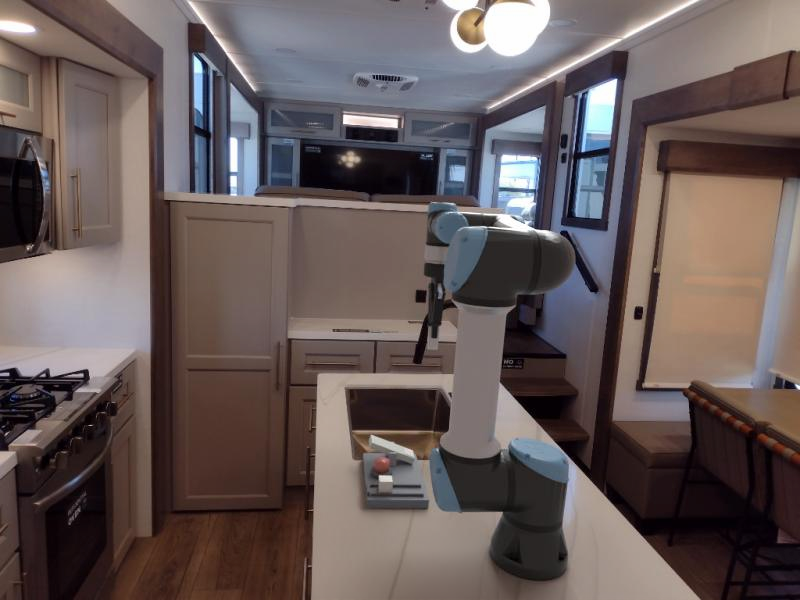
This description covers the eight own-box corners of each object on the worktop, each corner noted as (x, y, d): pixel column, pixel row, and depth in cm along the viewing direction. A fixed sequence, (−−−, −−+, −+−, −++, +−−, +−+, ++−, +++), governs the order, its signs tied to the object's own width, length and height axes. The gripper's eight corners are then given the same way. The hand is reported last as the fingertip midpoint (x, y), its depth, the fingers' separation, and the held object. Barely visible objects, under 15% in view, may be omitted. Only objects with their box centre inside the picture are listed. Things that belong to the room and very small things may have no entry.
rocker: (412, 464, 148) (415, 458, 148) (369, 448, 146) (372, 442, 146) (410, 455, 153) (412, 449, 153) (368, 439, 151) (371, 434, 151)
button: (389, 473, 140) (390, 463, 140) (374, 473, 140) (375, 463, 139) (388, 466, 144) (388, 457, 143) (373, 466, 143) (374, 457, 143)
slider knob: (392, 493, 133) (392, 481, 132) (378, 493, 132) (379, 481, 132) (390, 487, 136) (391, 475, 135) (378, 487, 135) (378, 475, 135)
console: (428, 508, 131) (430, 485, 130) (366, 508, 130) (367, 485, 129) (415, 460, 155) (416, 441, 154) (362, 460, 153) (363, 440, 152)
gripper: (457, 265, 146) (450, 356, 150) (448, 259, 159) (442, 343, 163) (428, 264, 145) (421, 355, 149) (421, 258, 158) (415, 342, 162)
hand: (432, 348), depth 156 cm, fingers closed
